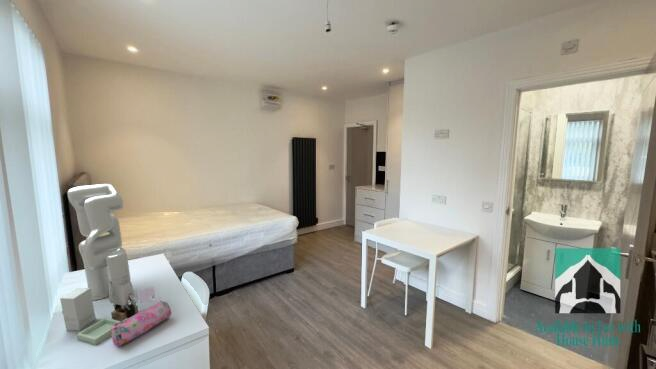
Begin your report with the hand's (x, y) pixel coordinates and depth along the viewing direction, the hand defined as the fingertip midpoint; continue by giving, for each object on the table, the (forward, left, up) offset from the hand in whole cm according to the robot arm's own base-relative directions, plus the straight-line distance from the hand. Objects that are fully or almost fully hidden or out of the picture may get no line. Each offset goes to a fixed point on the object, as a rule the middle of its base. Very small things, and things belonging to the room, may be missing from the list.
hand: (125, 314), depth 124 cm
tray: (+2, -11, -1) cm, 12 cm away
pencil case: (+18, -5, -1) cm, 19 cm away
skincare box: (-13, -10, -1) cm, 16 cm away
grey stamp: (0, 0, -1) cm, 1 cm away
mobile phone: (-7, +16, -1) cm, 18 cm away
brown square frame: (0, 0, -1) cm, 1 cm away
